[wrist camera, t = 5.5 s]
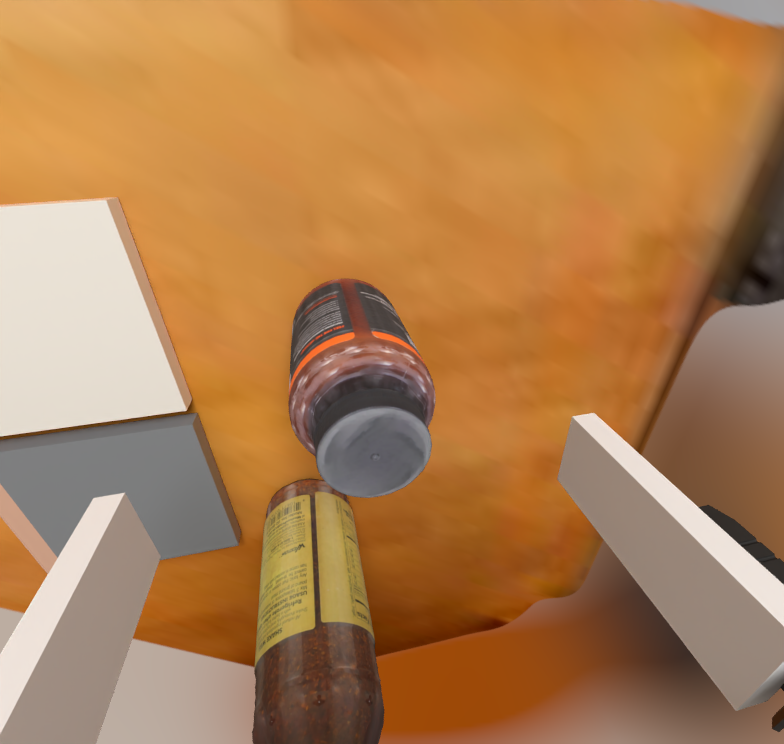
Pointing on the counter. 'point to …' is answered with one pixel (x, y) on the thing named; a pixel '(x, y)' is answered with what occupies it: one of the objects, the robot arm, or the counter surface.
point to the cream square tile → (79, 321)
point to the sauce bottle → (314, 625)
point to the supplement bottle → (359, 390)
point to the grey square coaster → (117, 485)
